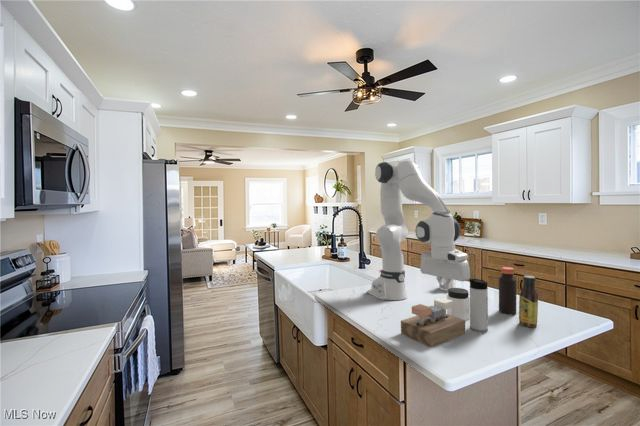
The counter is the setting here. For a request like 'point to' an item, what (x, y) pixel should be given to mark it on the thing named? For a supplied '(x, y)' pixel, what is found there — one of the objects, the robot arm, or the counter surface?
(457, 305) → the jar
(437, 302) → the cream block
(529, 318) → the sauce bottle
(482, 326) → the travel mug
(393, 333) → the counter surface
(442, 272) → the robot arm
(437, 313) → the key slate
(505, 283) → the vinegar
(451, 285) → the medicine bottle
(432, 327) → the keypad base
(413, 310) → the key terracotta
